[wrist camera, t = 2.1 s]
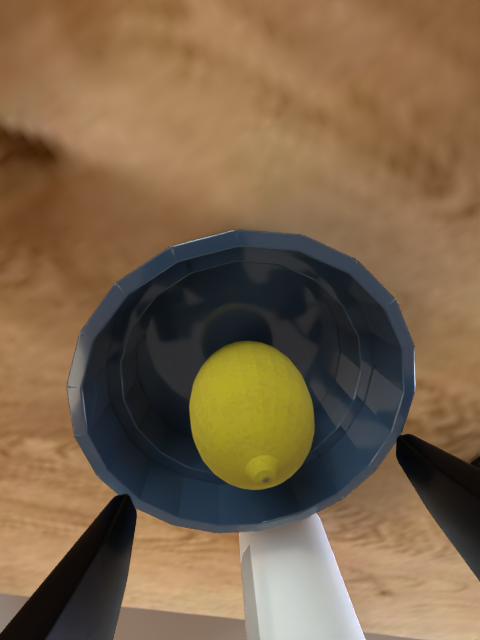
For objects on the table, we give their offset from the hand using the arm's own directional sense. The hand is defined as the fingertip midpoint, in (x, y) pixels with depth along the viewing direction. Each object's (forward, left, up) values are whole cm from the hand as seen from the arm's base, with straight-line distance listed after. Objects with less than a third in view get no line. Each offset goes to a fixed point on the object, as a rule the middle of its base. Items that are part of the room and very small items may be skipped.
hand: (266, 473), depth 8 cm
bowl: (0, 0, -8) cm, 8 cm away
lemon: (0, 0, -8) cm, 8 cm away
